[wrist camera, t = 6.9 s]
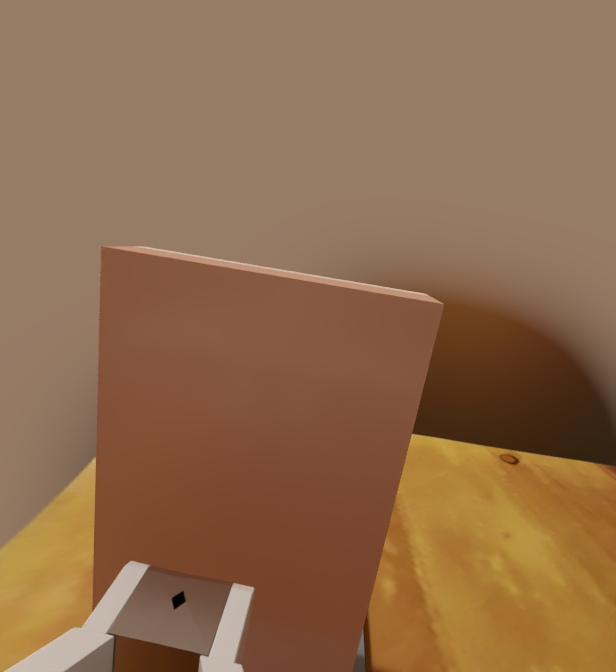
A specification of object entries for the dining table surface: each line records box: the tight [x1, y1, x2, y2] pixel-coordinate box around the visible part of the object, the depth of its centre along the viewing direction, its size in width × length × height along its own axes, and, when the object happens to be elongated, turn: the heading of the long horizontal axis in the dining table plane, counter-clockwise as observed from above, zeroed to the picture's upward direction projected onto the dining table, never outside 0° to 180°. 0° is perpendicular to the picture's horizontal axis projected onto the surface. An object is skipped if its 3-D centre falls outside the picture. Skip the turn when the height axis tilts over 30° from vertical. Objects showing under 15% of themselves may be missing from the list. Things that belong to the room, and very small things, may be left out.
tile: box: [92, 246, 444, 672], centre depth 14 cm, size 2×10×16 cm, turn 85°
